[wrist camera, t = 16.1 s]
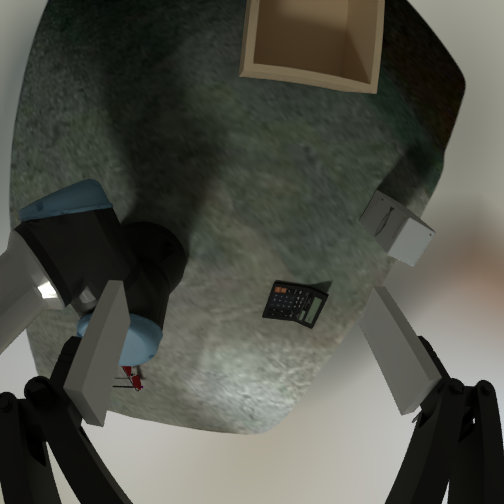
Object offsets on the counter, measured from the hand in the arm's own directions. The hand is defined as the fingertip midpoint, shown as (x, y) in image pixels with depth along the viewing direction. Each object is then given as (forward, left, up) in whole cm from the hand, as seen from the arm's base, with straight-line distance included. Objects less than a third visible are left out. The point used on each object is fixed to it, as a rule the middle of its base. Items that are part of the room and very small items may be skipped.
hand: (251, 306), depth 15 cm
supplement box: (+29, -8, -37) cm, 48 cm away
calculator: (+15, -30, -37) cm, 50 cm away
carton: (+8, +22, -37) cm, 44 cm away
